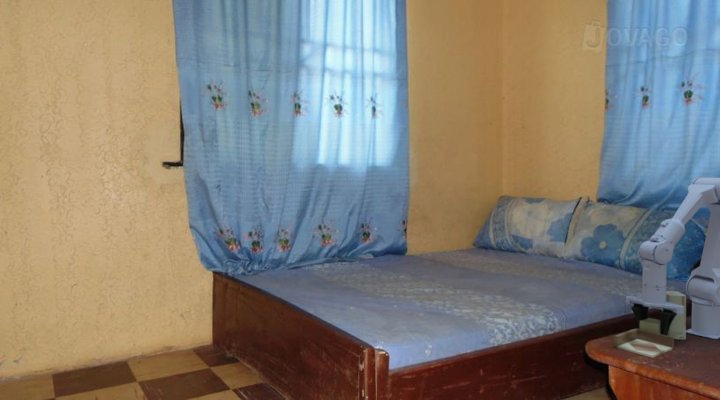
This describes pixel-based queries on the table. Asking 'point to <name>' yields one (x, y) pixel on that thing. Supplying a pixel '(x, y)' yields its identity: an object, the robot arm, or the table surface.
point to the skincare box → (679, 322)
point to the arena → (644, 342)
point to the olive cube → (650, 325)
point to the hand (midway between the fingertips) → (653, 334)
